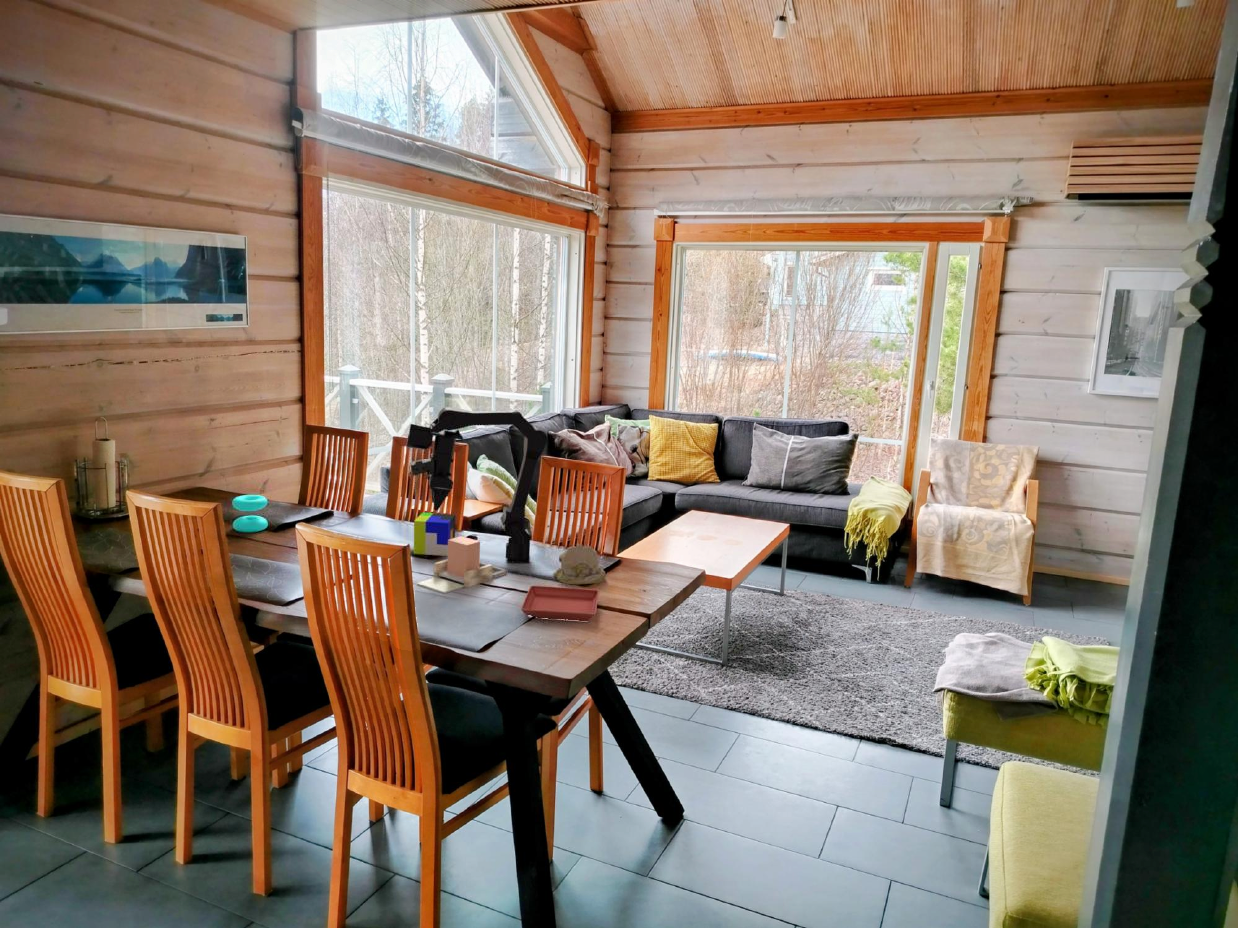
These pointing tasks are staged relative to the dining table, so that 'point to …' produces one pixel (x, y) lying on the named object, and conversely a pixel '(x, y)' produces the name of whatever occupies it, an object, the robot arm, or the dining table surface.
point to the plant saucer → (560, 603)
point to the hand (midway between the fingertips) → (434, 506)
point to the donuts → (250, 521)
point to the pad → (440, 585)
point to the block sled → (461, 558)
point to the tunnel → (467, 573)
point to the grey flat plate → (495, 570)
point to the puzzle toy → (433, 533)
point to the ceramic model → (579, 566)
